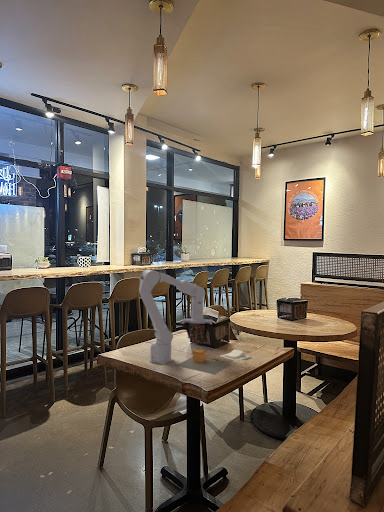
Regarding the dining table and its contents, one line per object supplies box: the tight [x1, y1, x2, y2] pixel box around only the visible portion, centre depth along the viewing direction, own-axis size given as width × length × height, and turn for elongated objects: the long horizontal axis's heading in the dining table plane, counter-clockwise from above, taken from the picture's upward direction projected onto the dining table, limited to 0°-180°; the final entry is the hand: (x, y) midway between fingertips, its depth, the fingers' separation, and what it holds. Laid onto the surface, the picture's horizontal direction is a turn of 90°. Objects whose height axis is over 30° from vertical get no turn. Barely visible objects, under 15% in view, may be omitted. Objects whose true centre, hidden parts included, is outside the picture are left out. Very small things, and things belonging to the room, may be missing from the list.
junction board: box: [175, 356, 231, 375], centre depth 156 cm, size 20×16×1 cm
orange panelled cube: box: [192, 348, 207, 362], centre depth 162 cm, size 5×5×4 cm
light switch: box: [219, 349, 252, 362], centre depth 169 cm, size 11×4×13 cm
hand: (197, 338), depth 169 cm, fingers open, 7 cm apart
